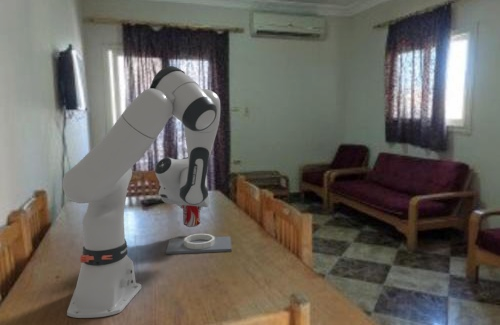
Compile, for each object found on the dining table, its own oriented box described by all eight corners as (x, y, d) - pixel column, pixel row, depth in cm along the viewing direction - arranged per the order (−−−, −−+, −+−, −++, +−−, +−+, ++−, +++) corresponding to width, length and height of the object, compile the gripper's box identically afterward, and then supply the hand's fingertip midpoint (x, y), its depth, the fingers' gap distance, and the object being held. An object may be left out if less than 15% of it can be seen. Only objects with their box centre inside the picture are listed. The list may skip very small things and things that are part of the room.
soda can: (197, 228, 158) (196, 199, 156) (180, 227, 159) (179, 198, 157) (202, 223, 165) (202, 195, 163) (186, 222, 166) (185, 194, 164)
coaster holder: (231, 251, 144) (231, 243, 143) (165, 254, 142) (165, 246, 142) (230, 238, 158) (230, 231, 157) (170, 241, 156) (170, 234, 155)
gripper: (206, 184, 149) (217, 203, 160) (160, 181, 156) (173, 199, 167) (200, 198, 146) (212, 216, 156) (154, 194, 153) (168, 212, 163)
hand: (192, 208), depth 161 cm, fingers closed on soda can, 7 cm apart
